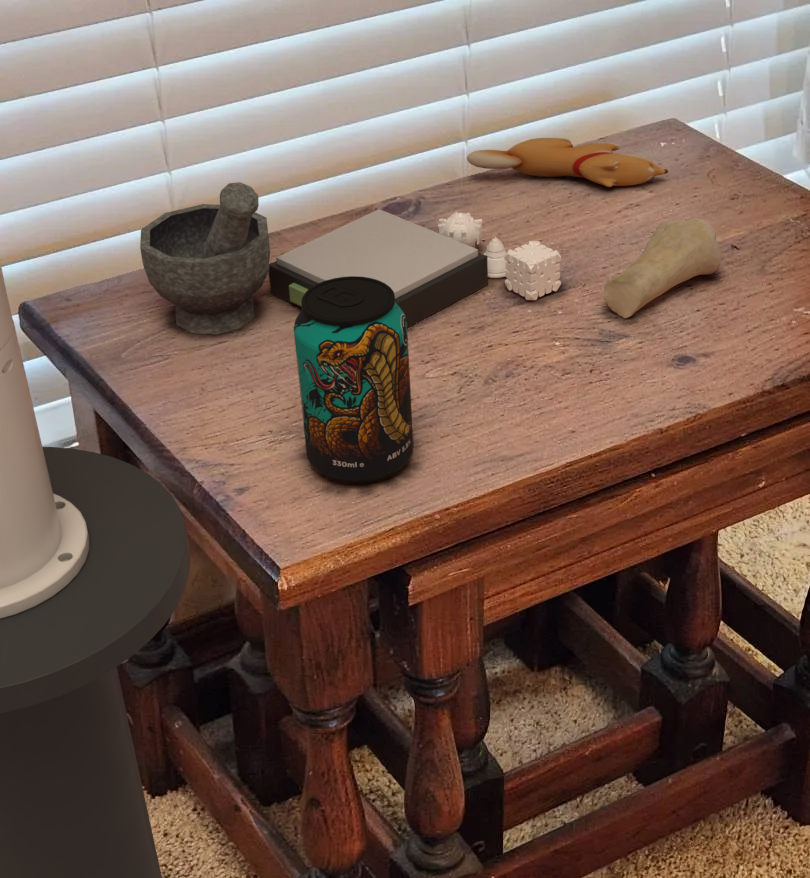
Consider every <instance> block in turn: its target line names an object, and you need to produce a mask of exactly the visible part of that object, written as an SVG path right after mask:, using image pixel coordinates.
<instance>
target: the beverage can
mask: <svg viewBox="0 0 810 878" xmlns="http://www.w3.org/2000/svg"><path fill="white" fill-rule="evenodd" d="M301 303H302V308H301V310H300V311H299V313H298V315H297V316H296V318H295V320H294V323H293V335H294V348H295V355H296V365H297V375H298V384H299V394H300V395H299V396H300V403H301V412H302V413H301V414H302V423H303V431H304V442H305V451H306V453H305V454H306V458H307V460H308V463H309V464H310V466H311V467H312V468H313V469H314V470H315V471H316V472H318V473H320V474H321V475H322V476H323V477H325V478H327V479H329V480H331V481H333V482H336V483H340V484H345V485H353V486H354V485H355V486H359V485H369V484H375V483H379V482H382V481H385V480H386V479H389V478H390V477H392V476H394V475H395V474H397V473H398V472H399V471H400V470H401V469H402V468H404V466H405V465H406V464H408V462H409V461H410V459H411V457H412V455H413V453H414V433H413V432H414V431H413V413H412V394H411V393H412V391H411V374H410V357H409V355H410V354H409V336H408V328H407V321H406V317H405V314H404V312H403V311H402V310H401V308H400V307H399V306H398V305H397V304H396V302H395V295H394V291H393V290H392V289H391V288H390V287H389V286H388V285H387V284H385V283H383V282H381V281H379V280H376V279H372V278H367V277H357V276H349V277H339V278H333V279H330V280H326V281H323V282H321V283H318V284H316V285H315V286H313V287H311V288H310V289H309V290H308V291H307V292H306V293H305V294H304V296H303V297H302V301H301Z"/></svg>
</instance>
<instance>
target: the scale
mask: <svg viewBox="0 0 810 878" xmlns="http://www.w3.org/2000/svg"><path fill="white" fill-rule="evenodd" d="M349 276H357V277H367V278H372V279H376V280H379V281H381V282H383V283H385V284H387V285H388V286H389V287H390V288H391V289H392V290H393V291H394V295H395V302H396V304H397V305H398V306H399V307H400V308H401V310H402V311H403V312H404V314H405V317H406V321H407V329H409V328H410V327H412V326H413V325H416V324H417V323H420V322H421V321H423V320H426V318H429V317H430V316H433V315H435V314H436V313H438V312H440V311H441V310H444V309H445V308H447V307H449V306H451V305H453V304H455V303H457V302H459V301H460V300H462V299H464V298H466V297H469V296H470V295H471V294H473V293H476V292H477V291H479V290H481V289H482V288H485V287H487V286H488V284H489V277H488V262H487V256H486V255H484V253H481V252H479V249H478V248H476V247H475V248H473V247H471V246H468V245H466V244H463V243H461V242H458V241H456V240H454V239H451V238H449V237H446V236H444V235H441V234H439V232H436V231H435V230H431V229H429V228H426V227H424V226H422V225H419V224H417V223H414V222H411V221H409V220H408V219H404V218H403V217H399V216H397V215H394V214H393V213H390V212H387V211H385V210H382V209H381V208H378V209H376V210H374V211H372V212H370V213H368V214H365V215H363V216H361V217H359V218H357V219H354V220H353V221H350V222H348V223H346V224H344V225H342V226H340V227H338V228H336V229H333V230H331V231H329V232H327V233H325V234H323V235H321V236H318V237H316V238H314V239H312V240H310V241H308V242H306V243H304V244H302V245H300V246H297V247H295V248H293V249H292V250H289V251H286V252H285V253H282V254H280V255H278V256H276V258H275V261H272V262H270V264H269V272H268V279H269V280H268V281H269V288H270V294H271V295H274V296H276V297H277V298H280V299H282V300H284V301H286V302H288V303H290V304H292V305H294V306H296V307H298V308H299V309H302V303H301V301H302V297H303V296H304V294H305V293H306V292H307V291H308V290H309V289H310V288H311V287H313V286H315V285H316V284H318V283H321V282H323V281H326V280H330V279H333V278H339V277H349Z"/></svg>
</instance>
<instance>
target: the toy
mask: <svg viewBox="0 0 810 878" xmlns="http://www.w3.org/2000/svg"><path fill="white" fill-rule="evenodd" d="M620 149H621V145H620V144H618V143H613V142H611V143H610V142H593V143H588V144H582V145H578V146H574V144H573V143H572V141H571V139H569V138H566V137H537V138H531V139H527V140H524V141H521V142H518V143H516V144H515V145H513V146H512V147H510V148H509V149H507V150H500V149H499V150H498V149H480V150H475V151H472V152H470V153H468V154H467V156H466V160H467V162H468V163H469V164H470V165H471V166H474V167H476V168H479V169H486V170H487V169H488V170H504V169H512V170H514V171H516V172H519V173H521V174H525V175H528V176H534V177H543V178H544V177H545V178H557V177H558V178H560V177H565V176H570V177H576V178H577V177H578V178H585V179H587V180H589V181H591V182H593V183H595V184H599V185H600V186H601V185H602V186H604V187H607V188H611V187H613V186H614V187H625V186H626V187H627V186H635V185H640V184H644V183H646V182H648V181H650V180H651V179H653V178H655V177H658V176H662V175H666V174H668V173H669V170H668V169H666V168H665V166H662V165H659V164H657V163H655V162H654V161H653V160H651V158H648V157H646V156H642V155H638V154H632V153H624V152H622V153H621V152H615V151H618V150H620Z"/></svg>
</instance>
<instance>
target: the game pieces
mask: <svg viewBox="0 0 810 878" xmlns="http://www.w3.org/2000/svg"><path fill="white" fill-rule="evenodd" d="M437 229H438V230H437V231H438V232H437V233H439V234H441V235H444V236H446V237H449V238H451V239H454V240H456V241H458V242H461V243H463V244H466V245H468V246H471V247H473V248H476V245H478V246H479V245H480V243H481V237H482V231H483V219H482V218H477V219H475V218H474V217H473V216H472V215H471V212H466V213H464V212H453V214H451V215H450V216H449V217H448V218H447V219H446V218H442V217H441V218H439V219H438V223H437ZM483 255H486V256H487V262H488V279H489V278H490V279H501V278H504V277H505V280H504V284H505V286H506V288H507V290H508V291H513V292H514V293H516V294H518V295H519V296H522V297H524V299H525V300H526V301H537V300H538V298H541V297H543V296H545V294H546V295H547V294H550V293H552V292H557V291H558V290H559V288H560V287H561V285H562V281H561V280H560V279H561V271H560V270H561V263H560V262H561V261H562V260H563V259H562V256H561V254H560V252H559V250H557V249H555V250H553V249H552V248H550V247H547V245H545V244H541V241H540V240H529V241H528V243H525V244H522V245H521V246H518V247H516V248H513V249H511V248H509V249H508V251H506V249H505V246H504V244H503V242H502V241H501V240H500V239H499V238H498V237H497V236H496V235H495V236H494V238H492V239H491V240H490V241H489V242H488V244H487V246H486V250H485V252H484V253H483Z"/></svg>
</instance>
